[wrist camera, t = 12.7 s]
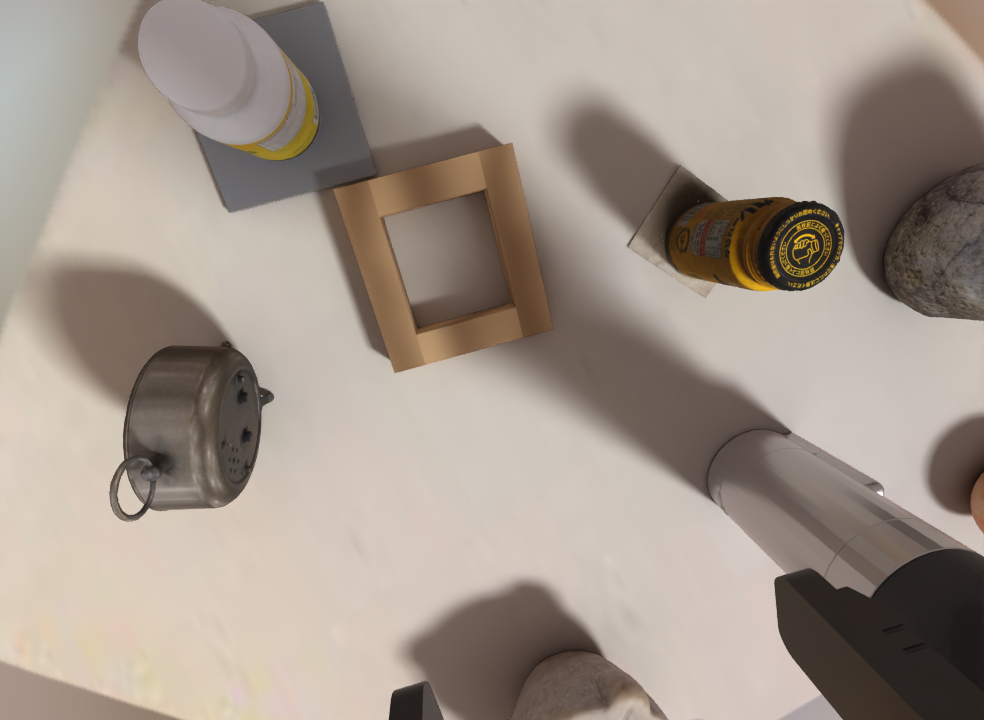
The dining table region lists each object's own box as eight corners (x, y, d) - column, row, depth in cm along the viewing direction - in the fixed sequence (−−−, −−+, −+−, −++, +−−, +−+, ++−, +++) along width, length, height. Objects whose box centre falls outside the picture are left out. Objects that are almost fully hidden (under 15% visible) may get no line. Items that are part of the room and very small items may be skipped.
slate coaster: (325, 6, 32) (323, 2, 31) (376, 174, 35) (375, 174, 34) (165, 45, 31) (160, 42, 31) (232, 212, 34) (228, 212, 34)
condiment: (704, 297, 40) (810, 325, 29) (627, 246, 38) (707, 254, 27) (755, 222, 39) (888, 219, 27) (678, 165, 37) (785, 137, 26)
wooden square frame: (507, 148, 35) (512, 142, 33) (546, 323, 39) (553, 329, 37) (340, 192, 35) (333, 189, 33) (397, 364, 39) (394, 373, 37)
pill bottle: (207, 81, 32) (81, 2, 20) (295, 44, 31) (217, -55, 20) (257, 177, 33) (166, 152, 22) (340, 142, 33) (290, 100, 22)
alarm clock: (204, 327, 36) (29, 401, 21) (276, 329, 37) (159, 403, 22) (217, 454, 39) (73, 601, 24) (284, 454, 40) (186, 598, 24)
